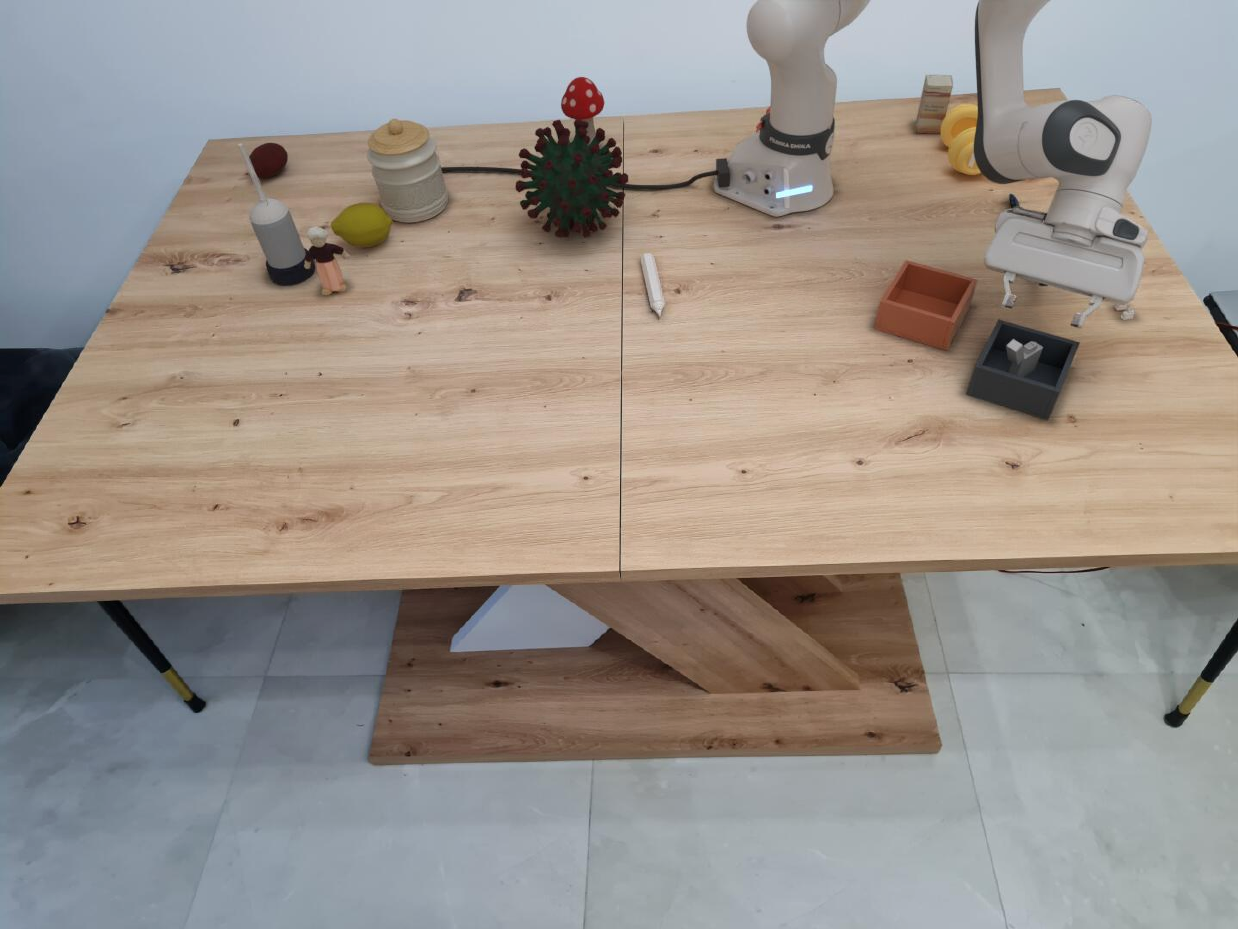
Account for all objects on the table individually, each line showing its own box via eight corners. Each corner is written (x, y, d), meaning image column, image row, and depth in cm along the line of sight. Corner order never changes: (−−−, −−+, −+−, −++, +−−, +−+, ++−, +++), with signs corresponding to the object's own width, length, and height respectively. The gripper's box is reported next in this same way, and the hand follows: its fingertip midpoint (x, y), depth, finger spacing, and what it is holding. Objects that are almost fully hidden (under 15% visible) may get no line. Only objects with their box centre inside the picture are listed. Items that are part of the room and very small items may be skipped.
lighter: (1026, 362, 135) (1041, 321, 129) (1035, 369, 134) (1051, 327, 128) (993, 383, 132) (1006, 341, 126) (1002, 389, 131) (1016, 348, 125)
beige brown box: (916, 133, 180) (925, 84, 173) (915, 122, 183) (924, 73, 176) (943, 134, 180) (953, 85, 172) (941, 123, 182) (952, 74, 175)
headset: (1068, 181, 166) (1082, 134, 159) (949, 188, 168) (958, 142, 161) (1042, 133, 177) (1055, 87, 171) (932, 140, 180) (939, 95, 173)
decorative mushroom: (607, 162, 181) (601, 90, 170) (565, 165, 182) (556, 93, 170) (608, 137, 188) (603, 66, 177) (567, 139, 188) (559, 68, 177)
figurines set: (1088, 276, 148) (1093, 261, 146) (1104, 273, 148) (1110, 259, 146) (1123, 322, 140) (1130, 308, 138) (1141, 320, 140) (1148, 305, 138)
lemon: (400, 228, 171) (389, 191, 165) (395, 253, 166) (383, 215, 160) (343, 233, 171) (330, 196, 165) (337, 258, 166) (323, 221, 160)
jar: (370, 218, 174) (343, 132, 161) (405, 182, 182) (382, 98, 168) (428, 229, 170) (405, 142, 157) (461, 192, 178) (442, 106, 164)
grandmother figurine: (319, 301, 158) (294, 240, 148) (313, 290, 160) (289, 229, 150) (361, 286, 160) (339, 225, 150) (355, 275, 162) (333, 214, 152)
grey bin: (966, 394, 132) (974, 366, 128) (989, 347, 138) (998, 318, 134) (1048, 420, 128) (1059, 392, 124) (1068, 370, 134) (1080, 342, 130)
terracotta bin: (874, 328, 143) (879, 300, 139) (899, 287, 149) (905, 259, 145) (946, 350, 139) (954, 322, 134) (970, 307, 145) (978, 279, 141)
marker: (659, 324, 148) (646, 265, 159) (670, 318, 148) (656, 259, 158) (651, 315, 147) (638, 256, 157) (662, 308, 146) (648, 249, 156)
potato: (299, 167, 188) (290, 140, 184) (268, 188, 184) (257, 161, 179) (275, 159, 191) (264, 132, 187) (243, 179, 187) (231, 153, 182)
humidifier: (300, 252, 168) (250, 126, 149) (323, 270, 164) (275, 142, 145) (261, 273, 164) (205, 146, 146) (285, 291, 160) (230, 164, 141)
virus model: (531, 269, 159) (514, 167, 144) (516, 208, 173) (499, 108, 158) (642, 249, 161) (636, 146, 146) (619, 190, 174) (611, 89, 159)
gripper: (1003, 197, 126) (965, 292, 128) (1161, 234, 118) (1118, 335, 120) (1004, 208, 132) (968, 299, 134) (1155, 245, 124) (1114, 341, 126)
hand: (1040, 316), depth 127 cm, fingers open, 8 cm apart
